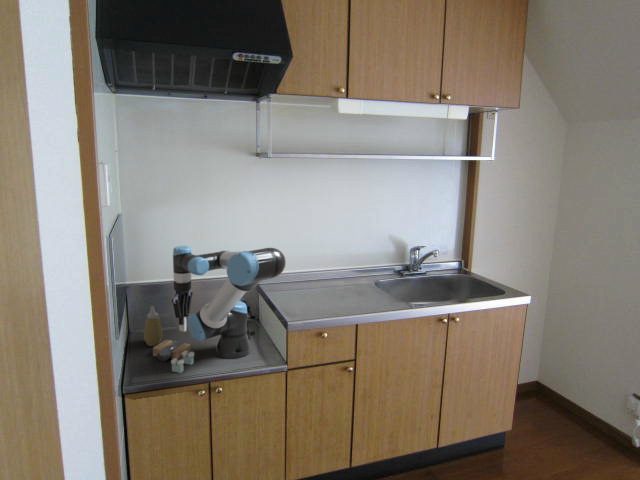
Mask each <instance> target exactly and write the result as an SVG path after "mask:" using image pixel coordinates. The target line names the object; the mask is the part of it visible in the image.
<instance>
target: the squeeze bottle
mask: <svg viewBox="0 0 640 480" xmlns="http://www.w3.org/2000/svg"><path fill="white" fill-rule="evenodd" d="M155 310H156V309H155V306H154V305H151V306H150V309H149V312H148V313H147V316H146V317H147V318H146V319H144V330H143V331H144V333H143V338H144V339H143V340H144V341H145V345H147V346H148V347H155V346H157V345H159V344H160V343H162V339H163V328H162V323H161V318H160V317H159V313H158V312H156V311H155Z"/></svg>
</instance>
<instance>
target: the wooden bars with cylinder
mask: <svg viewBox="0 0 640 480" xmlns="http://www.w3.org/2000/svg"><path fill="white" fill-rule="evenodd" d="M172 342H173V340H171V339H165V340H163V341H161V342H160V344H159V345H156V346H153V348H152V356H153V357H157V353H158V352H159V351H160V350H162V349H163V348H165V347H166V346H168V345H169V344H171V343H172ZM181 344H182V345H181V346H179V347H178V348H176V349H175V350H173V351H172V352H171V355H172V357H171V361H172V360H173V359H174V358H177V359H178V361H179V360H181V359H183V356H182V353H183V352H184V351H186V350H187V351H188V352H189V353H190V352H191V343H186V342H184V343H181Z"/></svg>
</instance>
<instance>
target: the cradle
mask: <svg viewBox="0 0 640 480" xmlns="http://www.w3.org/2000/svg"><path fill="white" fill-rule="evenodd" d="M182 356H183V357H182V358H181V359H179V360H178V359H177V358H174V359H173V360H172V359H171V360H170V364H171V372H174V373H177V374H178V373H179V374H182V373H183V372H184V364H185V365H190V366H191V365H194V362H195V360H194V359H195V351H190V352H188V351H187V350H186V351H184V352H183V353H182Z"/></svg>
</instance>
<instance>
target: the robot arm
mask: <svg viewBox="0 0 640 480" xmlns="http://www.w3.org/2000/svg"><path fill="white" fill-rule="evenodd" d="M172 250H173V251H172V267H173V269H172V270H173V282H172V283H173V290H174V291H175V295H174V298H172V299H171V302H172V305H173V310H174V315H175V316H174V317H175V318H177V319H178V326H179V328H178V330H179V331H180V332H183V333H184V332H187V326H188V330H189V333H190V335H191V336H192V338H193V340H195V341H198V342H201V341H205V340H208V339H211V338H215V337H218V336H219V338H218V341H217V343H216V350H215V351H216V354H217V355H218V356H219V357H221V358H225V359H239V358H243V357H245V356H247V355H249V354H250V353H251V342H250V339H249V337H248V306H247V304H246V303H245V302H243V301H240V300H241V299H242V298H243V296H244V295H245V294H246V293H247V292H251V291H253V290H254V289H255V288H256V287H257V286H258V284H259V283H261V282H263V281H266V280H271V279H275V278H277V277H278V276H280V275H281V274H282V273H283V272H284V270H285V267H286V265H287V264H286V263H287V262H286V261H287V260H286V257H285V255H284V253H283V252H282V251H281V250H280V249H278V248H276V247H266V248H265V247H264V248H259V249H254V250H243V251H230V250H221V251H216V252H209V253H203V254H196V255H195V254H193V253H192V249H191V247H190V246H188V245H179V246H174V248H173V249H172ZM214 270H226V274H227V275H226V276H227V279H226V281H224V283H223V285H222V286H221V287H220V289H218V292H217V293H216V294H215V295H214V297H213V298H212V299H211V301H210V302H208V303H205V304H204V305H202V307H201V308H200V310H199V311H197V312H193V313H191V314H190V312H191V305H192V304H191V303H192V297H193V292H192V291H190V290H191V289H192V281H191V280H192V275H195V276H204V275H205V274H207V272H210V271H214Z"/></svg>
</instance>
